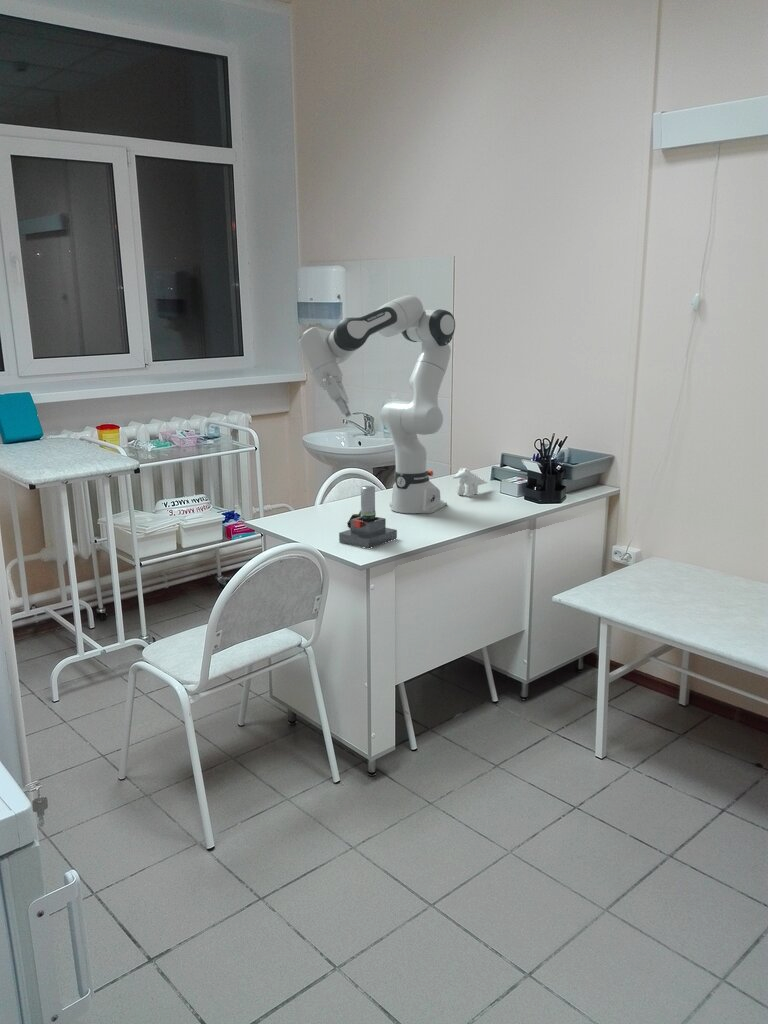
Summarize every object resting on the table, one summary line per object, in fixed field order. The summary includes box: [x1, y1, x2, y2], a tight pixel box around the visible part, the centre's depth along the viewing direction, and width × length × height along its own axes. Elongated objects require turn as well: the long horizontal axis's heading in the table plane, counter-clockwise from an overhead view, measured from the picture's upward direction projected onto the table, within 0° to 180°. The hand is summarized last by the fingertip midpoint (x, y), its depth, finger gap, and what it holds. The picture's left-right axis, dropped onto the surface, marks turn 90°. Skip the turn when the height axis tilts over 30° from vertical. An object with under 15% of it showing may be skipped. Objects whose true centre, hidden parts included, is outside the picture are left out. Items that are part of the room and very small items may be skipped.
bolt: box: [346, 510, 361, 530], centre depth 276 cm, size 6×5×15 cm
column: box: [360, 485, 377, 522], centre depth 255 cm, size 5×5×14 cm
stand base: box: [338, 516, 398, 549], centre depth 257 cm, size 14×12×8 cm
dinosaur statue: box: [452, 467, 488, 497], centre depth 319 cm, size 7×24×11 cm, turn 139°
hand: (347, 414), depth 260 cm, fingers open, 8 cm apart
